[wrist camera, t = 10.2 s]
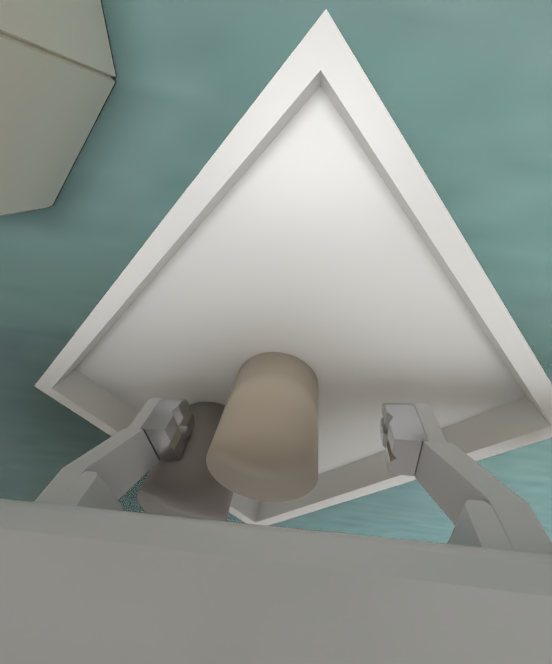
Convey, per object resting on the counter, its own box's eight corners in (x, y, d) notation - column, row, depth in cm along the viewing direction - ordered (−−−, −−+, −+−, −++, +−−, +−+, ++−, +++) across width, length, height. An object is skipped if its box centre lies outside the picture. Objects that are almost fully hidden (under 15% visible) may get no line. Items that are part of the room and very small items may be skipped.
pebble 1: (218, 457, 16) (190, 539, 12) (167, 420, 15) (120, 499, 11) (263, 433, 14) (245, 519, 11) (209, 390, 13) (170, 470, 10)
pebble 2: (275, 424, 14) (260, 511, 10) (220, 378, 12) (184, 459, 9) (335, 391, 12) (342, 482, 9) (279, 336, 11) (261, 416, 7)
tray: (261, 495, 18) (255, 529, 17) (68, 358, 14) (34, 386, 12) (539, 388, 11) (579, 429, 10) (324, 46, 7) (326, 9, 5)
